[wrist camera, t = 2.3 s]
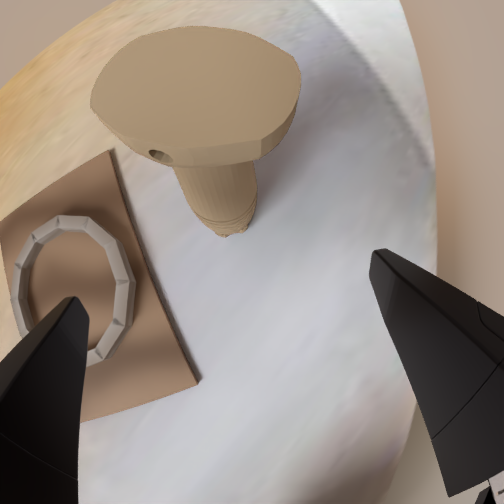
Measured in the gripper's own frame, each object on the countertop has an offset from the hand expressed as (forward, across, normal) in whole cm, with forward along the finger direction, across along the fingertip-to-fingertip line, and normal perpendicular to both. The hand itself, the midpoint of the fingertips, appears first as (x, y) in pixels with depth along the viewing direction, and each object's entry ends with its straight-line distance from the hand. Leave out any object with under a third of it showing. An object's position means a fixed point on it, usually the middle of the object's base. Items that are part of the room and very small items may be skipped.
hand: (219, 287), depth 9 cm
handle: (+14, 0, +5) cm, 15 cm away
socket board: (+11, +14, +8) cm, 19 cm away
